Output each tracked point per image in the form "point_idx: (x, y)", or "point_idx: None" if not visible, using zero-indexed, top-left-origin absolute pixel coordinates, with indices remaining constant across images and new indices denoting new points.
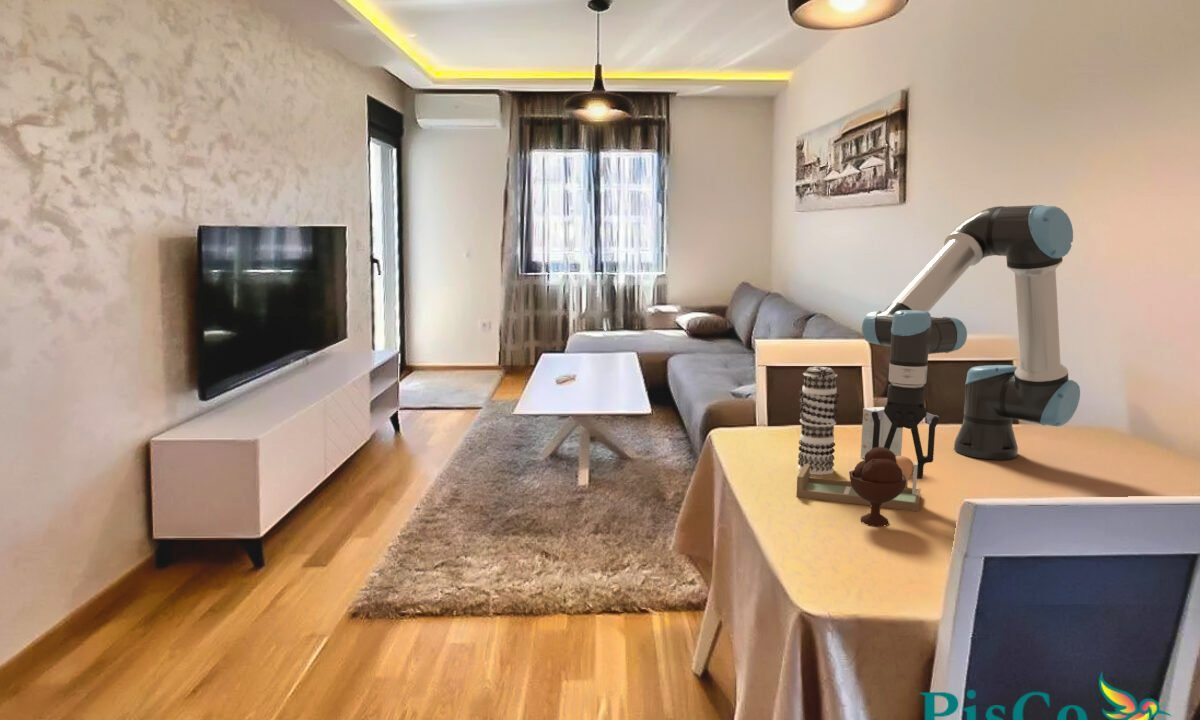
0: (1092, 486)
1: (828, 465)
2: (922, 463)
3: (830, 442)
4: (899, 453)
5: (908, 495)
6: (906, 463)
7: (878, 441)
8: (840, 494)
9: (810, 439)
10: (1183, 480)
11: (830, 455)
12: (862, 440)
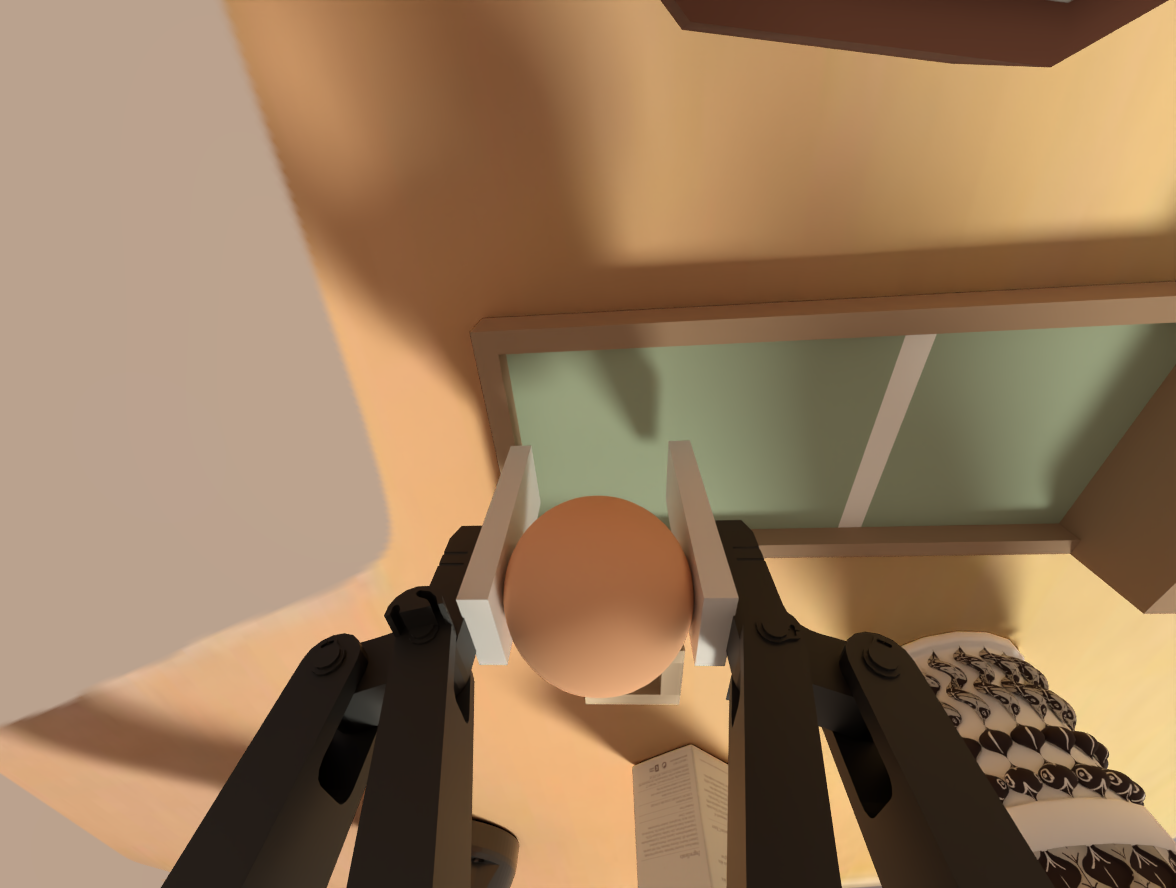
0: (145, 741)
1: None
2: (400, 605)
3: None
4: (639, 802)
5: None
6: (548, 592)
7: (949, 867)
8: (983, 307)
9: (1144, 828)
10: (48, 798)
11: None
12: None
